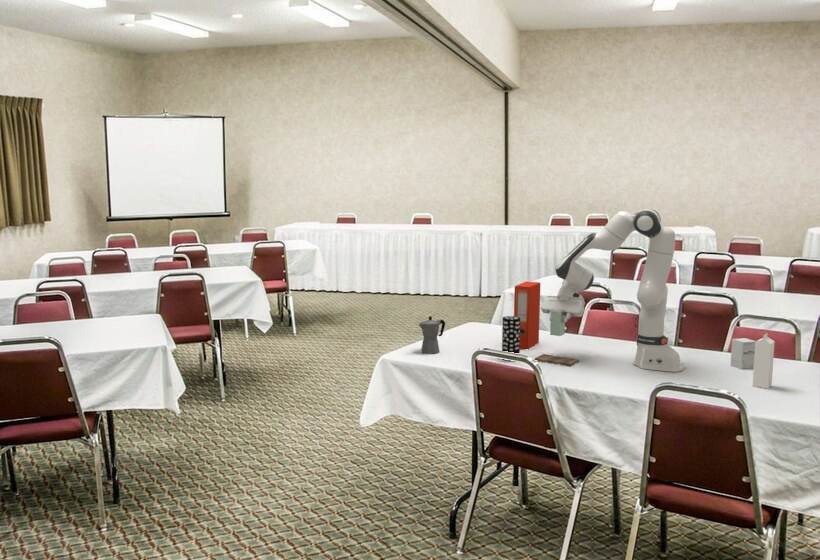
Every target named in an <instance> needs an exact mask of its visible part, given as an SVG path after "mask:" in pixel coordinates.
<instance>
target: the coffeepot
mask: <svg viewBox="0 0 820 560" xmlns="http://www.w3.org/2000/svg"><path fill="white" fill-rule="evenodd" d="M432 319H433V316H428V320H427V319H426V320H423V321H421V322H420V323H419V324H418V326H419V327H420V328H421V331H422V336H423V339H422V343H421V345H422V346H421V350H420V351H421V353H422V354H425V355H435V354H439V353H440V346H439V341H438V337H442V336H443V333H444V330H445V327H446V321H444V320H443V319H438V320H437V319H436V320H432ZM440 325H441V327H440ZM440 328H441V329H440ZM439 330H440V333H439Z"/></svg>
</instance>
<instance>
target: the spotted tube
mask: <svg viewBox="0 0 820 560" xmlns="http://www.w3.org/2000/svg"><path fill="white" fill-rule="evenodd" d="M501 330H502V334H501V339H502V342H501V344H502V345H501V352H502V351H508V352H514V353H520V354H521V352H520V351H521V349H520V317H516V316H514V315H513V316H512V315H507V316H506V315H505V316H503V317H502V329H501ZM502 360H503V361H505V362H506V361H507V360H504V359H502ZM507 362H508V361H507Z"/></svg>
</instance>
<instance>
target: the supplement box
mask: <svg viewBox="0 0 820 560" xmlns="http://www.w3.org/2000/svg"><path fill="white" fill-rule="evenodd" d="M756 341H757V340H753V339H749V338H746V337H742V338H732V339H731V351H730V352H731V353H730V354H731V355H730V366H731V367H734V368H737V369H739V370H743V369H754V355H755V342H756Z"/></svg>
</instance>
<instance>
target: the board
mask: <svg viewBox="0 0 820 560" xmlns="http://www.w3.org/2000/svg"><path fill="white" fill-rule="evenodd" d="M535 360H538V361H537V362H539V361H541V363H545V362H547V364H552V363H554V364H553V365H558V364H560V366H565V365H566V366H565V367H573V366H575V365H576V364H578V363H579V362H580V360H579V359H578V358H571V357H568V356H567V357H566V356H559V355H553V354H545V353H543V354H541V355H538V356H537V357H535V358H534V361H535ZM577 362H578V363H577ZM575 363H576V364H575Z"/></svg>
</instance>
